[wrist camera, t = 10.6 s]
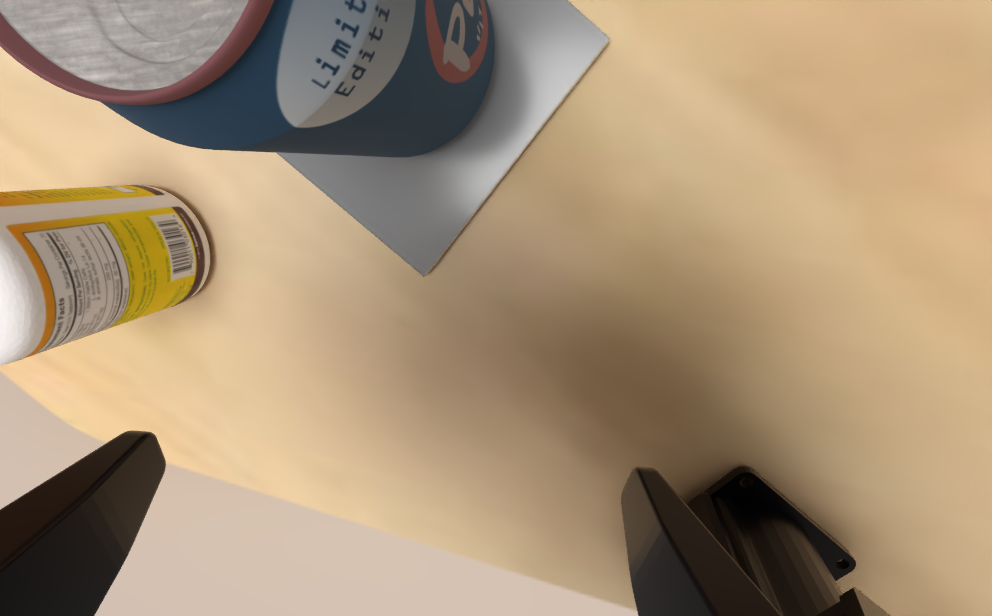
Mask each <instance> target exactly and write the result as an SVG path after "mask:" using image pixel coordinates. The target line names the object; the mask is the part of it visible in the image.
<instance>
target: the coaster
mask: <svg viewBox="0 0 992 616" xmlns="http://www.w3.org/2000/svg"><path fill="white" fill-rule="evenodd" d="M487 2H488V6H489V9H490V13H491V17H492V22H493V29H494V40H495V52H494V63H493V70H492V75H491V79H490V82H489V86H488V89H487V91H486V94H485V96H484V99H483V101H482V103H481V105H480V107H479V109H478V110H477V112H476V113H475V115H474V117H473V118H472V119H471V121H470V122H469V123H468V124H467V126H466V127H465V128H464V129H463V130H462V131H461V132H460V133H459V134H458V135H457V136H455V137H454V138H453V139H452V140H450V141H449V142H447V143H446V144H444V145H443V146H441V147H439V148H437V149H435V150H433V151H431V152H428V153H425V154H422V155H418V156H412V157H373V156H350V155H326V154H303V153H280V152H276V153H277V154H279V155H280V156H281V157H282V158H283V159H284V160H286V161H287V162H288V163H289V164H290V165H292V166H293V167H294V168H295V169H296V170H298V171H299V172H300V173H301V174H302V175H303V176H305V177H306V178H307V179H308V180H309V181H311V182H312V183H313V184H314V185H315V186H317V187H318V188H319V189H320V190H321V191H323V192H324V193H325V194H326V195H327V196H328V197H330V198H331V199H332V200H333V201H334V202H336V203H337V204H338V205H339V206H340V207H342V208H343V209H344V210H345V211H346V212H347V213H349V214H350V215H351V216H352V217H353V218H355V219H356V220H357V221H358V222H359V223H361V224H362V225H363V226H364V227H365V228H367V229H368V230H369V231H370V232H371V233H372V234H374V235H375V236H376V237H377V238H378V239H380V240H381V241H382V242H383V243H384V244H386V245H387V246H388V247H389V248H390V249H391V250H393V251H394V252H395V253H396V254H397V255H399V256H400V257H401V258H402V259H403V260H405V261H406V262H407V263H408V264H409V265H411V266H412V267H413V268H414V269H415V270H416V271H418V272H419V273H420V274H421V275H422V276H426V275H427V274H428V273H429V272H430V271H431V270H432V268H433V267H434V266H435V265H436V263H437V262H438V261H439V259H440V258H441V257H442V256H443V254H444V253H445V252H446V250H447V249H448V248H449V247H450V245H451V244H452V243H453V241H454V240H455V239H456V238H457V236H458V235H459V234H460V233H461V231H462V230H463V229H464V227H465V226H466V225H467V224H468V222H469V221H470V220H471V218H472V217H473V216H474V215H475V213H476V212H477V211H478V209H479V208H480V207H481V206H482V204H483V203H484V202H485V201H486V199H487V198H488V197H489V195H490V194H491V193H492V192H493V190H494V189H495V188H496V186H497V185H498V184H499V183H500V181H501V180H502V179H503V178H504V176H505V175H506V174H507V172H508V171H509V170H510V169H511V167H512V166H513V165H514V163H515V162H516V161H517V160H518V158H519V157H520V156H521V154H522V153H523V152H524V151H525V149H526V148H527V147H528V146H529V144H530V143H531V142H532V140H533V139H534V138H535V137H536V135H537V134H538V133H539V131H540V130H541V129H542V128H543V126H544V125H545V124H546V123H547V121H548V120H549V119H550V117H551V116H552V115H553V114H554V112H555V111H556V110H557V108H558V107H559V106H560V105H561V103H562V102H563V101H564V99H565V98H566V97H567V96H568V94H569V93H570V92H571V91H572V89H573V88H574V87H575V85H576V84H577V83H578V82H579V80H580V79H581V78H582V76H583V75H584V74H585V73H586V71H587V70H588V69H589V68H590V66H591V65H592V64H593V62H594V61H595V60H596V59H597V57H598V56H599V55H600V53H601V52H602V51H603V50H604V48H605V47H606V46H607V44H608V43H609V40H610V38H609V37H608V36H607V35H605V34H604V33H603V32H602V31H601V30H600V29H599V28H598V27H596V26H595V25H594V24H593V23H592V22H591V21H590V20H589V19H588V18H586V17H585V16H584V15H583V14H582V13H581V12H580V11H579V10H578V9H576V8H575V7H574V6H573V5H572V4H571V3H570V2H569V1H567V0H487Z"/></svg>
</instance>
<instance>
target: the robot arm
mask: <svg viewBox="0 0 992 616" xmlns="http://www.w3.org/2000/svg"><path fill="white" fill-rule="evenodd" d="M165 466H166V463H165V458H164V455H163V453H162V450H161V448H160V445H159V443H158V440H157V438H156V436H155V435H154V434H153V433H152V432H144V431H127V432H125V433H122V434H121V435H119V436H117V437H116V438H114V439H113V440H111V441H109V442H108V443H106V444H105V445H103V446H101V447H100V448H98V449H97V450H95V451H93V452H92V453H90V454H89V455H87V456H85V457H84V458H82V459H81V460H79V461H77V462H76V463H74V464H73V465H71V466H69V467H68V468H66V469H65V470H63V471H61V472H60V473H58V474H57V475H55V476H53V477H52V478H50V479H49V480H47V481H45V482H44V483H42V484H41V485H39V486H37V487H36V488H34V489H33V490H31V491H29V492H28V493H26V494H25V495H23V496H21V497H20V498H18V499H17V500H15V501H14V502H12V503H10V504H9V505H7V506H5V507H4V508H2V509H1V510H0V616H94V615H95V613H96V611H97V610H98V608H99V606H100V604H101V603H102V601H103V599H104V597H105V595H106V594H107V592H108V590H109V588H110V586H111V585H112V583H113V581H114V580H115V578H116V576H117V574H118V572H119V571H120V569H121V567H122V565H123V563H124V561H125V559H126V557H127V556H128V553H129V551H130V549H131V547H132V545H133V543H134V541H135V538H136V536H137V534H138V531H139V529H140V527H141V525H142V522H143V520H144V518H145V515H146V513H147V511H148V509H149V506H150V504H151V502H152V499H153V497H154V495H155V493H156V490H157V488H158V486H159V484H160V481H161V479H162V477H163V474H164V471H165ZM745 477H749V478H750V479H749V480H748V481H746V482H741V481H740V480H741V479H742V478H745ZM621 504H622V513H623V521H624V529H625V537H626V546H627V554H628V562H629V570H630V577H631V583H632V588H633V593H634V598H635V602H636V607H637V611H638V615H639V616H890V615H889V614H888V613H886V612H885V611H884V610H883V609H881V608H880V607H879V606H878V605H876V604H875V603H874V602H873V601H871V600H870V599H869V598H868V597H866V596H865V595H864V594H863V593H861V592H860V591H859V590H858V589H856V588H855V587H854V588H852V589H850V590H849V591H847V592H845V593H844V594H843V593H842V591H841V590H840V588H839V586H838V585H837V583H836V580H838V579H840V578H841V577H843V576H845V575H846V574H848V573H850V572H851V571H852V570H853V569H855V566H856V562H855V560H854V558H853V557H852V555H851V554H850V553H849V551H848V550H847V549H845V548H844V547H843V546H842V545H841V544H840V543H838V542H837V541H836V540H835V539H834V538H833V537H831V536H830V535H829V534H828V533H827V532H826V531H824V530H823V529H822V528H821V527H820V526H818V525H817V524H816V523H815V522H814V521H813V520H811V519H810V518H809V517H808V516H807V515H806V514H804V513H803V512H802V511H801V510H800V509H799V508H797V507H796V506H795V505H794V504H793V503H792V502H790V501H789V500H788V499H787V498H786V497H784V496H783V495H782V494H781V493H780V492H779V491H777V490H776V489H775V488H774V487H773V486H772V485H770V484H769V483H768V482H767V481H766V480H765V479H763V478H762V477H761V476H760V475H759V474H758V473H756V472H755V471H754V470H753V469H751V468H749V467H745V466H743V467H738V468H736V469H734V470H733V471H732V472H730V473H729V474H728V475H726V476H725V477H724V478H722V479H721V480H720V481H718V482H717V483H716V484H714V485H713V486H712V487H710V488H709V489H708V490H707V491H705V492H704V493H701V494H699V495H698V496H697V497H695V498H694V499H693V500H691V501H690V502H689V503H687V504H685V503H684V501H683V500H682V499H681V498H680V497H679V496H678V494H677V493H676V492H675V491H674V490H673V489H672V487H671V486H670V485H669V484H668V483H667V482H666V481H665V479H664V478H663V477H662V476H661V475H660V474H659V472H658V471H656V470H655V469H652V468H641V467H636V468H634V469H633V470H632V472H631V474H630V476H629V478H628V480H627V483H626V485H625V487H624V489H623V492H622V497H621ZM841 559H843V560H842V561H840V562H837V561H838V560H841Z"/></svg>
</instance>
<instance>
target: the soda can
mask: <svg viewBox="0 0 992 616" xmlns="http://www.w3.org/2000/svg"><path fill="white" fill-rule="evenodd" d="M0 46H1V47H2V48H3V49H4V50H5V51H6V52H7V53H8V54H10V55H11V56H12V57H13V58H14V59H15V60H17V61H18V62H19V63H21V64H22V65H23V66H25V67H26V68H27V69H29V70H30V71H32V72H33V73H35V74H36V75H38V76H40V77H41V78H43V79H44V80H46V81H48V82H50V83H52V84H54V85H55V86H57V87H60V88H62V89H64V90H66V91H68V92H71V93H74V94H77V95H79V96H82V97H85V98H89V99H93V100H97V101H100V102H102V103H103V104H104V105H106V106H107V107H109V108H110V109H112V110H113V111H115V112H116V113H118V114H119V115H121V116H122V117H124V118H126V119H127V120H129V121H130V122H132V123H133V124H135V125H137V126H139V127H141V128H143V129H144V130H146V131H148V132H150V133H152V134H155V135H157V136H159V137H161V138H164V139H167V140H169V141H172V142H175V143H178V144H182V145H186V146H190V147H196V148H201V149H212V150H233V151H256V152H280V153H303V154H326V155H350V156H373V157H412V156H418V155H422V154H425V153H428V152H431V151H433V150H435V149H437V148H439V147H441V146H443V145H444V144H446V143H447V142H449V141H450V140H452V139H453V138H454V137H455V136H457V135H458V134H459V133H460V132H461V131H462V130H463V129H464V128H465V127H466V126H467V124H468V123H469V122H470V121H471V119H472V118H473V117H474V115H475V113H476V112H477V110H478V109H479V107H480V105H481V103H482V101H483V99H484V96H485V94H486V91H487V89H488V86H489V82H490V79H491V75H492V70H493V63H494V52H495V40H494V29H493V22H492V17H491V13H490V9H489V6H488V2H487V0H0Z"/></svg>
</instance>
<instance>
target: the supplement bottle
mask: <svg viewBox="0 0 992 616" xmlns="http://www.w3.org/2000/svg"><path fill="white" fill-rule="evenodd" d="M209 267H210V250H209V244H208V241H207V237H206V235H205V232H204V230H203V228H202V226H201V224H200V222H199V221H198V219H197V218H196V216H195V215H194V214H193V212H192V211H191V210H190V209H189V208H188V207H187V206H186V205H185V204H184V203H183V202H182V201H180V200H179V199H178V198H176V197H175V196H173V195H172V194H170V193H168V192H166V191H164V190H161V189H158V188H155V187H151V186H144V185H125V186H106V187H89V188H69V189H50V190H32V191H12V192H0V365H4V364H8V363H11V362H14V361H18V360H21V359H23V358H26V357H29V356H32V355H35V354H37V353H40V352H43V351H46V350H49V349H51V348H54V347H57V346H60V345H63V344H65V343H68V342H71V341H74V340H77V339H80V338H83V337H86V336H89V335H91V334H94V333H97V332H100V331H103V330H105V329H108V328H111V327H114V326H117V325H120V324H123V323H126V322H129V321H131V320H134V319H137V318H140V317H142V316H145V315H148V314H151V313H154V312H157V311H160V310H163V309H165V308H168V307H171V306H174V305H177V304H179V303H181V302H184V301H186V300H188V299H189V298H191V297H192V296H194V295H195V294H196V293H197V292H198V291H199V290H200V289H201V287H202V286H203V284H204V282H205V280H206V278H207V275H208V272H209Z"/></svg>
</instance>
